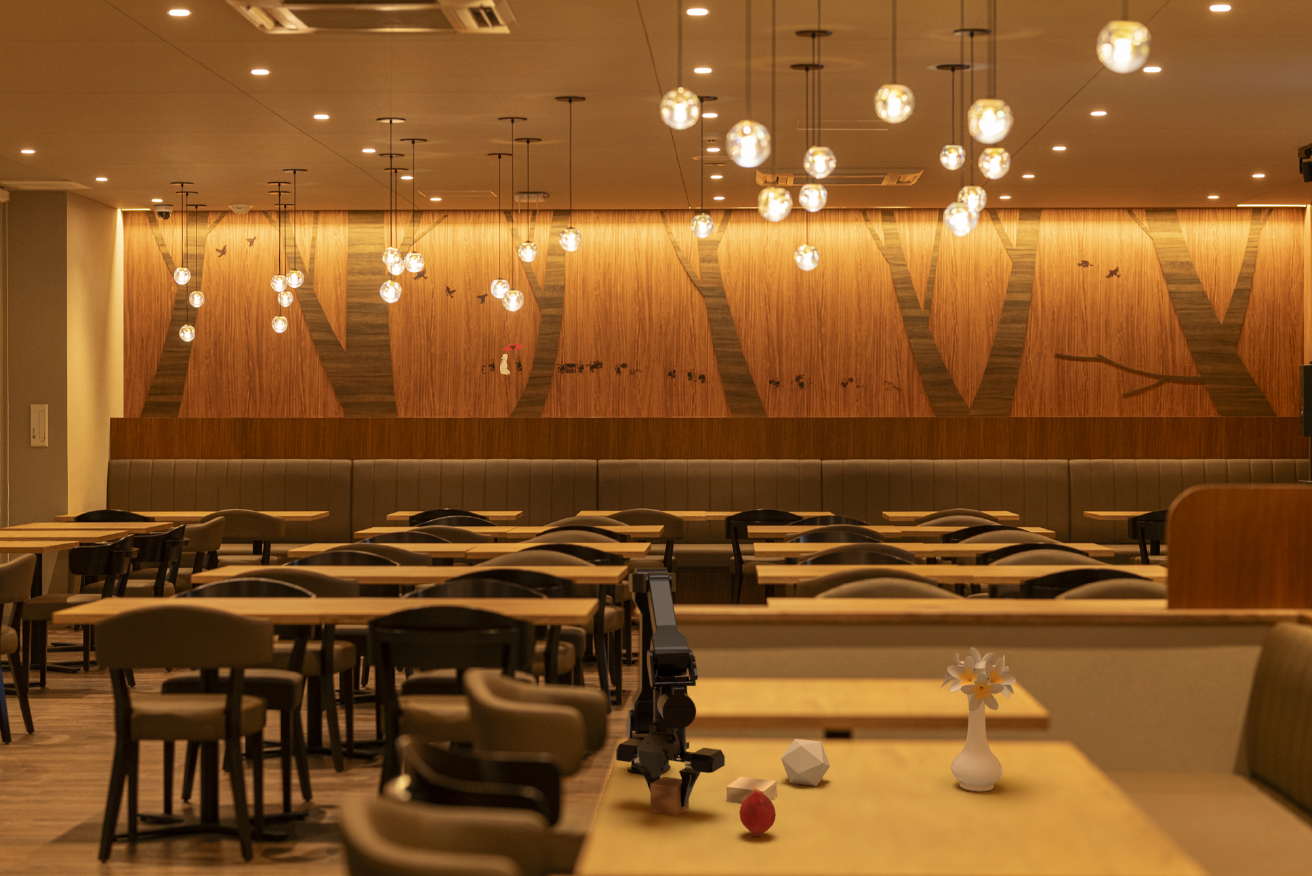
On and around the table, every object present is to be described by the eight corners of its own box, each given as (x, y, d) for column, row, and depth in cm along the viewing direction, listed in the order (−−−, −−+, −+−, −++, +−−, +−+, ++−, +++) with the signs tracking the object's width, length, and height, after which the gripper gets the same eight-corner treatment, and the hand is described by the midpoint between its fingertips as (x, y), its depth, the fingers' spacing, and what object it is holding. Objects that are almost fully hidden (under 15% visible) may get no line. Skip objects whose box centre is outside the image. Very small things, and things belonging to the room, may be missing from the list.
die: (835, 783, 244) (814, 736, 248) (837, 771, 236) (815, 724, 241) (796, 800, 243) (775, 753, 248) (796, 789, 236) (775, 741, 240)
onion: (779, 832, 213) (779, 784, 212) (770, 843, 207) (770, 794, 207) (744, 829, 215) (744, 781, 214) (735, 839, 209) (735, 790, 209)
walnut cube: (650, 812, 224) (650, 783, 224) (663, 804, 228) (663, 776, 228) (676, 816, 221) (676, 787, 221) (688, 808, 226) (688, 780, 226)
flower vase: (958, 803, 229) (958, 663, 228) (932, 774, 247) (932, 644, 247) (1030, 802, 229) (1031, 662, 229) (999, 774, 248) (999, 644, 247)
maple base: (726, 803, 230) (726, 786, 230) (740, 792, 237) (740, 776, 236) (763, 808, 227) (763, 791, 227) (776, 797, 234) (776, 781, 234)
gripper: (600, 719, 222) (600, 809, 222) (698, 731, 213) (698, 825, 213) (630, 706, 232) (631, 792, 232) (726, 717, 223) (725, 807, 223)
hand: (669, 804), depth 225 cm, fingers closed on walnut cube, 5 cm apart
